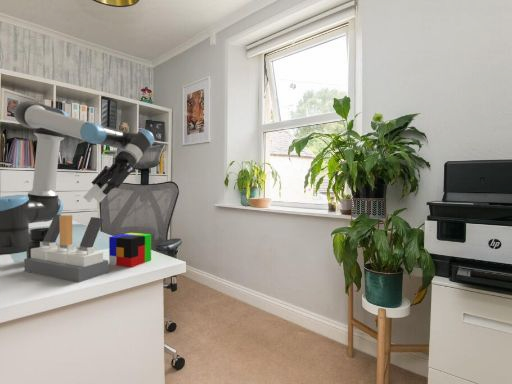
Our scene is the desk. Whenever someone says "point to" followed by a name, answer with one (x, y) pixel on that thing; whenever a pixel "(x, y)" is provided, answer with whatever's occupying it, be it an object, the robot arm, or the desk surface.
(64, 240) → the lever
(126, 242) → the puzzle toy
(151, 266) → the desk surface
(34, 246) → the ink bottle
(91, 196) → the robot arm
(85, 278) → the block
